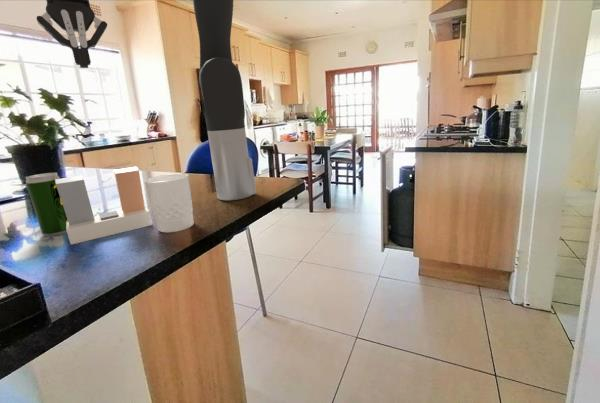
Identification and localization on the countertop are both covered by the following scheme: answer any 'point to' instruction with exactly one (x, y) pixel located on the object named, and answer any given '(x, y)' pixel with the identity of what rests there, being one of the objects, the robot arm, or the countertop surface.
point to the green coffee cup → (47, 204)
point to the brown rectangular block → (129, 189)
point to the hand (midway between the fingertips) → (84, 67)
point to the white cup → (171, 201)
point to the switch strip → (108, 225)
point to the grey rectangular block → (75, 199)
